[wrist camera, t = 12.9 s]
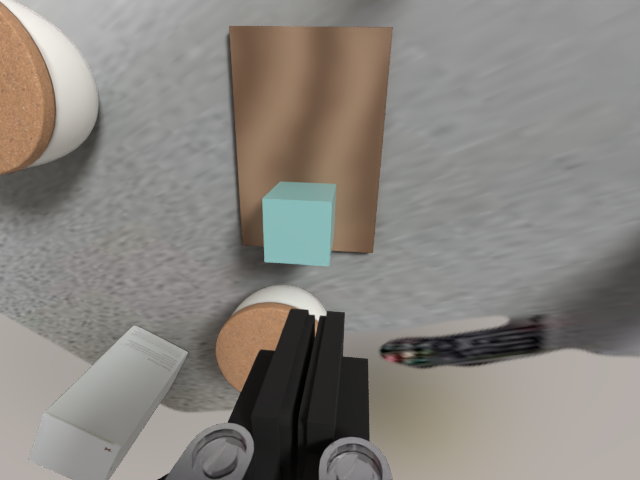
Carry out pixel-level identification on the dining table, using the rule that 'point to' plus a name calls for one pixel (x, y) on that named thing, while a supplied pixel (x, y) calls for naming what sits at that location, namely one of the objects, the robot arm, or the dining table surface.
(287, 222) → the teal block
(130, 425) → the supplement box
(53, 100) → the lidded bowl
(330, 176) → the walnut board
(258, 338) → the lidded jar
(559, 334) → the dining table surface
